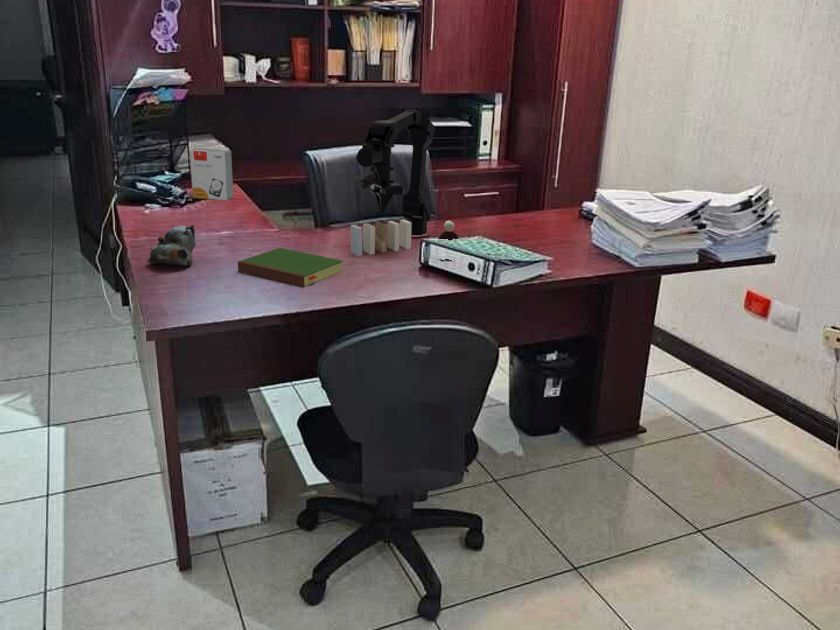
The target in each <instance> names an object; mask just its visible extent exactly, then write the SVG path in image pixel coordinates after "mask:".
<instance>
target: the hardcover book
mask: <svg viewBox="0 0 840 630" xmlns="http://www.w3.org/2000/svg"><path fill="white" fill-rule="evenodd" d="M343 262H344V260H341V259H336V258H331V257H327V256H323V255H316V254H313V253H308V252H302V251H298V250H293V249H289V248H284V247H278V248H275V249H272V250H268V251H266V252H263V253H260V254H256V255H254V256H251V257H248V258H244V259H242V260H238V261H237V272H238V273H239V272H241V273H240V274H244V273H246V274H245V275H248V274H249V276H252V275H253V277H256V276H257V277H256V278H261V279H266V280H269V281H273V282H279V283H283V284H286V285H291V286H296V287H300V288H306V287H307V286H309V285H312V284H315V283H317V282H319V281H322V280H324V279H326V278H328V277H331V276H334V275H336V274H339V273H341V272H342V271H343Z"/></svg>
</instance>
